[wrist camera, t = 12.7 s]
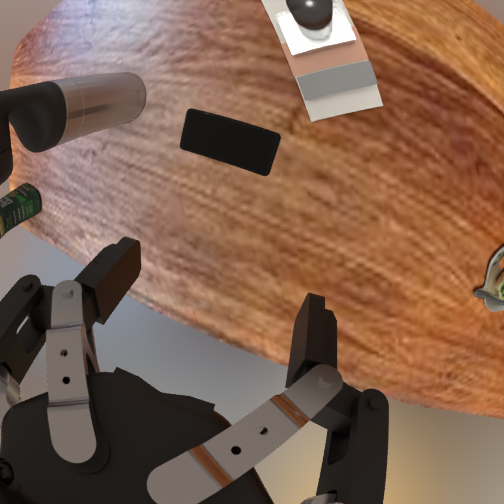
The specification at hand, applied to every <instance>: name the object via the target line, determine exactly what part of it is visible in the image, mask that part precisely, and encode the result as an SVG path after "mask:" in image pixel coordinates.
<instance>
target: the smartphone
mask: <svg viewBox="0 0 504 504" xmlns="http://www.w3.org/2000/svg"><path fill="white" fill-rule="evenodd" d="M280 139H281V136H280V135H279V134H278V133H276V132H273V131H270V130H267V129H264V128H261V127H257V126H254V125H251V124H248V123H244V122H241V121H238V120H234V119H231V118H227V117H223V116H220V115H216V114H212V113H208V112H204V111H200V110H196V109H189V110H188V111H187V114H186V118H185V123H184V127H183V132H182V137H181V142H180V147H181V149H183V150H186V151H190V152H193V153H196V154H199V155H203V156H206V157H209V158H212V159H215V160H218V161H222V162H225V163H228V164H231V165H234V166H237V167H240V168H242V169H245V170H248V171H251V172H254V173H257V174H260V175H263V176H267V175H268V174H269V173H270V170H271V167H272V164H273V161H274V158H275V155H276V152H277V148H278V145H279V142H280Z"/></svg>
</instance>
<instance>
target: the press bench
mask: <svg viewBox="0 0 504 504" xmlns="http://www.w3.org/2000/svg"><path fill="white" fill-rule="evenodd" d="M261 1H262V3H263V5H264V7H265V9H266V11H267V13H268V15H269V17H270V19H271V21H272V24H273V26H274V28H275V30H276V32H277V35H278V37H279V39H280V42H281V46H282V48H283V51H284V53H285V56H286V58H287V60H288V63H289V65H290V68H291V70H292V73H293V75H294V77H295V78H296V81H297V83H298V86H299V89H300V91H301V94H302V97H303V100H304V102H305V105H306V108H307V111H308V114H309V117H310V120H311V122H313V121H316V120H320V119H324V118H328V117H333V116H337V115H341V114H345V113H350V112H355V111H359V110H364V109H369V108H374V107H380V106H383V104H382V100H381V97H380V94H379V91H378V88H377V84H378V83H377V80H376V77H375V74H374V71H373V68H372V65H371V63H370V60H369V59H368V56H367V53H366V51H365V48H364V46H363V43H362V41H361V38H360V36H359V34H358V31H357V29H356V27H355V26H354V24H353V22H352V20H351V18H350V16H349V13H348V11H347V9H346V7H345V5H344V3H343V1H342V0H339V2H340V4H341V7H342V9H343V11H344V13H345V15H346V17H347V19H348V21H349V24H350V26H351V28H352V30H353V33H354V35H355V38H356V41H355V43H354V44H349V45H344V46H339V47H335V48H330V49H326V50H322V51H318V52H314V53H310V54H307V55H303V56H300V57H296V58H295V57H294V56H293V55H292V52H291V50H290V48H289V45H288V43H287V41H286V38H285V36H284V34H283V32H282V29H281V27H280V25H279V23H278V21H277V19H276V16H275V14H278V13H281V12H284V11H287V10H289V9H288V7H287V4H286V0H261ZM368 60H369V61H368Z"/></svg>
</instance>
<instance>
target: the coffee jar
mask: <svg viewBox="0 0 504 504" xmlns="http://www.w3.org/2000/svg"><path fill="white" fill-rule="evenodd" d="M40 209H41V200H40V197H39V193H38V191H37V190H36V189H35V188H33V187H32V186H30V185H28V184H23V185H21V186H19V187H18V188H16V189H14V190H13V191H12V192H10V193H9V194H7V195H6V196H4V197H2V198H1V199H0V239H1V238H2V237H3V236H4V235H5V233H7V232H8V231H9V230H11V229H12V228H14V227H15V226H17V225H19V224H20V223H22V222H24V221H25V220H27V219H29V218H31V217H33V216H35V215H36V214H38V213H39V212H40Z"/></svg>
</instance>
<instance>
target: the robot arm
mask: <svg viewBox="0 0 504 504" xmlns="http://www.w3.org/2000/svg"><path fill="white" fill-rule="evenodd" d="M145 95H146V94H145V88H144V85H143V83H142V81H141V80H140V78H139V77H138V76H136V75H135V74H132V73H109V74H97V75H87V76H78V77H71V78H64V79H58V80H52V81H46V82H41V83H37V84H32V85H28V86H23V87H19V88H14V89H10V90H5V91H0V185H1V184H2V183H3V182H5V181H6V180H7V179H8V178H9V176H10V175H11V173H12V170H13V156H12V148H11V139H10V130H9V122H10V123H11V125H12V126H13V128H14V129H15V131H16V134H17V136H18V138H19V140H20V141H21V143H22V144H23V146H24V147H25V148H26V149H28V150H29V151H31V152H36V153H37V152H43V151H45V150H48V149H50V148H53V147H55V146H58V145H60V144H63V143H65V142H68V141H70V140H73V139H76V138H79V137H82V136H85V135H87V134H90V133H93V132H97V131H100V130H103V129H106V128H109V127H113V126H116V125H120V124H123V123H127V122H130V121H132V120H134V119H135V118H136V117H137V116H138V115H139V114H140V113H141V111H142V109H143V107H144V103H145ZM140 270H141V248H140V242H139V241H138V240H135V239H132V238H129V237H123V238H122V239H121V240H120V241H119V242H118V243H117V244H111V245H109V246H107V247H105V248H104V249H103V250H102V251H101V252H100V253H99V254H98V255H97V256H96V257H95V258H94V259H93V260H92V262H90V263H89V264H88V265H87V266H86V267H85V268H84V270H83V271H81V273H80V274H79V275H78V276H77V277H76V278H75V279H74V280H66V281H62V282H60V283H59V284H58V285H56V286H55V287H53V286H46V285H41V282H40V279H39V278H38V277H37V276H36V275H26V276H24V277H22V278H20V279H19V280H18V281H17V283H16V284H15V285H14V286H13V287H12V288H11V289H10V291H9V292H8V293H7V294H6V295H5V297H4V298H3V299H2V300H1V301H0V428H1V446H0V504H274V503H273V501H272V499H271V498H270V496H269V494H268V492H267V490H266V488H265V487H264V485H263V483H262V481H261V479H260V477H259V475H258V474H257V472H256V470H255V468H254V466H255V465H256V464H258V463H259V462H260V461H262V460H263V459H264V458H266V457H267V456H268V455H269V454H271V453H272V452H273V451H275V450H276V449H277V448H278V447H279V446H281V445H282V444H283V443H284V442H286V441H287V440H288V439H289V438H290V437H291V436H293V435H294V434H295V433H296V432H297V431H298V430H299V429H301V428H302V427H303V426H304V425H305V424H306V423H307V422H308V421H309V420H310V421H312V422H314V423H316V424H318V425H320V426H322V427H324V428H326V429H328V431H327V437H326V444H325V450H324V456H323V462H322V467H321V472H320V478H319V483H318V487H317V492H316V496H314V497H310V498H307V499H306V500H304V501H303V502H302V503H301V504H383V499H384V491H385V481H386V470H387V455H388V430H389V429H388V427H389V404H388V400H387V398H386V397H385V395H384V394H383V393H382V392H380V391H379V390H376V389H367V390H365V391H363V392H360V391H358V390H356V389H355V388H353V387H351V386H349V385H347V384H346V383H345V382H344V381H343V379H342V376H341V374H340V373H339V371H338V370H337V332H336V331H337V320H336V318H335V316H334V313H333V311H331V310H327V309H325V297H323V296H320V295H316V294H313V293H308V294H307V296H306V298H305V300H304V302H303V304H302V306H301V308H300V311H299V313H298V315H297V317H296V320H295V324H294V329H293V337H292V344H291V352H290V359H289V366H288V373H287V380H286V386H285V387H286V388H288V389H287V390H285V391H284V392H283V393H281V394H280V395H275V396H273V397H272V398H271V399H269V400H268V401H266V402H265V403H264V404H262V405H261V406H259V407H258V408H257V409H255V410H254V411H253V412H251V413H250V414H248V415H247V416H245V417H244V418H243V419H241V420H239V421H238V422H236V423H235V424H234V425H231V424H230V423H229V421H227V420H226V419H225V418H224V417H223V416H222V415H220V414H218V413H217V412H215V411H214V406H215V404H212V403H209V402H206V401H203V400H200V399H197V398H194V397H191V396H184V395H176V394H167V393H162V392H160V391H158V390H157V389H155V388H154V387H152V386H151V385H150V384H148V383H147V382H145V381H144V380H143V379H141V378H140V377H138V376H136V375H133V374H131V373H129V372H127V371H125V370H123V369H120V368H118V367H116V369H115V371H114V373H113V372H100V369H99V366H98V362H97V356H96V348H95V340H94V332H93V325H94V323H95V322H98V323H101V324H103V325H104V324H105V322H106V320H107V319H108V318H109V316H110V315H111V314H112V312H113V311H114V309H115V308H116V307H117V305H118V304H119V302H120V301H121V300H122V298H123V297H124V295H125V294H126V293H127V291H128V290H129V289H130V287H131V286H132V285H133V283H134V282H135V281H136V279H137V278H138V276H139V274H140ZM26 316H27V317H28V320H27V321H26V322H25V324H24V325H23V326H22V328H21V329H20V331H19V332H18V334H17V335H16V333H17V329H18V327H19V326H20V325H21V323H22V322H23V320H24V319H25V318H26ZM45 342H46V361H47V382H48V392H45V393H43V394H41V395H38V396H35V397H33V398H30V399H28V400H25V401H22V402H20V400H21V398H20V387H19V385H20V383H21V381H22V380H23V378H24V376H25V374H26V373H27V371H28V369H29V368H30V366H31V364H32V363H33V361H34V359H35V358H36V356H37V354H38V353H39V351H40V350H41V348H42V347H43V345H44V343H45Z"/></svg>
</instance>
